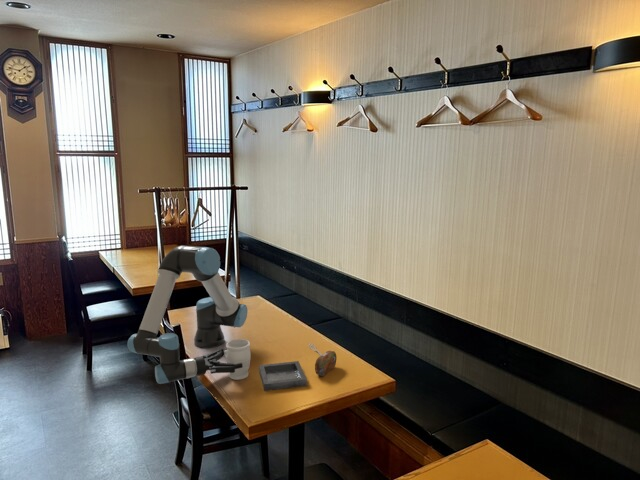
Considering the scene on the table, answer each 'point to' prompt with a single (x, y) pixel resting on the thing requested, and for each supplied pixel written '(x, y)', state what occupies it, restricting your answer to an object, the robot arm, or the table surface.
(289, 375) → the dark grey square tray
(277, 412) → the table surface
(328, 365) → the tin
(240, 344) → the jar
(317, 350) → the fork
